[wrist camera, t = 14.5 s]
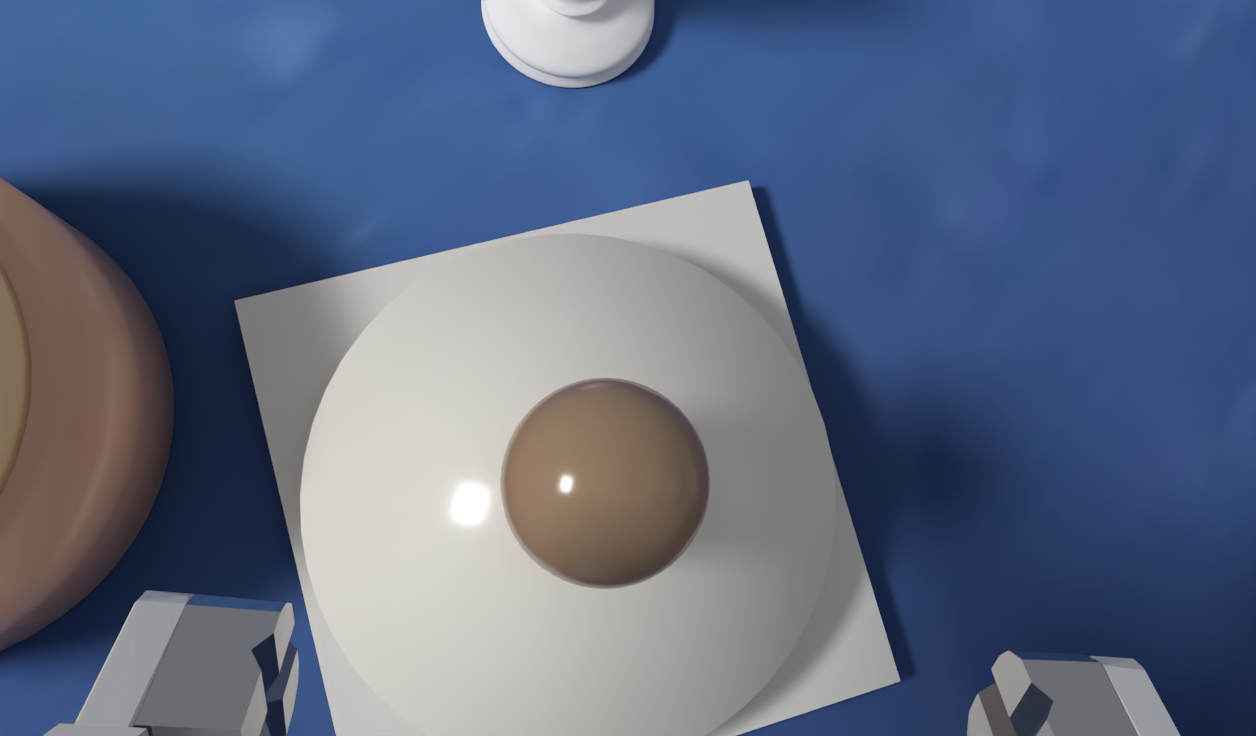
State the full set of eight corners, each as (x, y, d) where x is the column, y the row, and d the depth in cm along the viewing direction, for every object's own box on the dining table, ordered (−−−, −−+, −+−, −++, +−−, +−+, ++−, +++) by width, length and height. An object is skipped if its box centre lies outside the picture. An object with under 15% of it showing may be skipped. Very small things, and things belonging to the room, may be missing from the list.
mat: (743, 187, 28) (748, 180, 27) (891, 677, 26) (900, 681, 25) (240, 305, 25) (234, 300, 25) (368, 849, 24) (364, 858, 23)
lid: (738, 201, 27) (877, 11, 17) (878, 669, 25) (1123, 769, 15) (260, 315, 25) (91, 175, 15) (381, 830, 23) (286, 1067, 13)
